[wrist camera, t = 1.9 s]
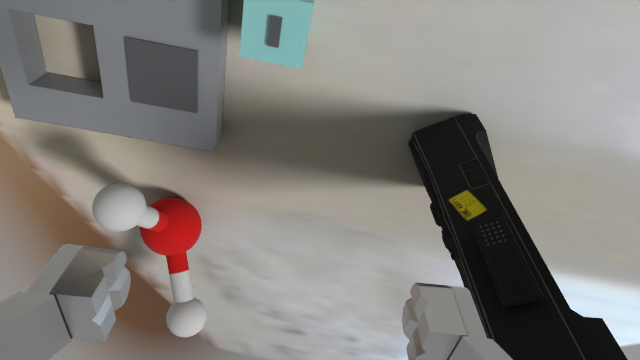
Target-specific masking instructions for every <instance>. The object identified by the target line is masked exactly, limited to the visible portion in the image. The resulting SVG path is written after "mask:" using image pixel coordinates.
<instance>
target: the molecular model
mask: <svg viewBox="0 0 640 360" xmlns="http://www.w3.org/2000/svg"><path fill="white" fill-rule="evenodd" d="M92 211H93V215H94V217H95V219H96V221H97V222H98V223H99V224H100V225H101V226H102V227H104V228H106V229H108V230H111V231H126V230H129V229H131V228H133V227H135V226H136V225H137V226H140V232H141V236H142V239H143V241H144V243H145V244H146V245H147V246H148V247H149V248H150V249H151V250H152V251H154V252H156V253H158V254H161V255H166V258H167V263H168V269H169V275H170V281H171V287H172V293H173V299H174V303H173V304H172V306H171V307H170V308H169V311H168V313H167V325H168V328H169V329H170V331H171V332H172V333H173V334H175V335H177V336H180V337H189V336H192V335H195V334H196V333H198V332H199V331H200V330H201V329H202V327H203V326H204V324H205V322H206V316H207V313H206V309H205V306H204V305H203V303H202V302H201V301H199V300H198V299H196V298H194V296H193V290H192V284H191V278H190V272H189V267H188V261H187V255H186V251H187V250H189V249H190V248H191V247H192V246H193V245H194V244H195V243H196V242H197V240H198V238H199V236H200V233H201V218H200V215H199V213H198V212H197V210H196V209H195V208H194V207H193V206H192V205H191V204H190V203H188V202H187V201H185V200H182V199H178V198H166V199H162V200H159V201H157V202H155V203H154V204H152V205H151V206H147V205H146V200H145V198H144V196H143V194H142V193H141V192H140V191H139V190H138V189H137V188H136V187H134V186H132V185H129V184H125V183H115V184H111V185H108V186H106V187H104V188H103V189H102V190H100V191H99V192H98V194H97V195H96V197H95V199H94V201H93V206H92Z"/></svg>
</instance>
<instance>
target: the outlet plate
mask: <svg viewBox="0 0 640 360" xmlns="http://www.w3.org/2000/svg"><path fill="white" fill-rule="evenodd" d="M228 8H229V0H0V68H1V71H2V75H3V78H4V81H5V85H6V88H7V91H8V94H9V98H10V101H11V104H12V108H13V111H14V114H15V118H21V119H27V120H32V121H38V122H44V123H50V124H56V125H61V126H67V127H73V128H79V129H84V130H90V131H96V132H102V133H108V134H113V135H119V136H125V137H131V138H137V139H142V140H148V141H154V142H160V143H166V144H171V145H177V146H183V147H189V148H194V149H200V150H206V151H212V152H215V151H216V149H217V147H218V144H219V142H220V140H221V137H222V122H223V103H224V84H225V65H226V46H227V27H228ZM33 14H37V15H42V16H47V17H52V18H57V19H62V20H67V21H72V22H77V23H83V24H88V25H93V28H94V35H95V42H96V49H97V56H98V62H99V69H100V76H101V82H96V81H91V80H86V79H80V78H75V77H69V76H64V75H58V74H53V73H48V72H47V71H46V67H45V63H44V58H43V54H42V50H41V45H40V41H39V37H38V32H37V28H36V24H35V19H34V15H33Z"/></svg>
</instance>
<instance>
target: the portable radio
mask: <svg viewBox="0 0 640 360" xmlns="http://www.w3.org/2000/svg"><path fill="white" fill-rule="evenodd" d="M408 145H409V148H410V150H411V153H412V155H413V158H414V161H415V163H416V166H417V169H418V171H419V173H420V176H421V178H422V181H423V183H424V186H425V188H426V190H427V193H428V195H429V197H430V199H431V201H432V203H431V205H430V208H431V211H432V214H433V217H434V220H435V222H436V224H437V225H438V226H441V228H442V239H443V242H444V244H445V247H446V248H447V249H448V250H449V252H450V253H451V254H450V255H451V258H452V259H453V260H455V263H456V265H457V268H458V270H459V272H460V275H461V278H462V281H463V284H464V287H465V288H467V289H468V290H469V291H470V293H471V296H472V299H473V301H474V304H475V307H476V309H477V312H478V315H479V318H480V320H481V323H482V326H483V328H484V331H485V334H486V337H487V339H493V340H494V341H495V342H496V343H497V344H498V345H499V346H500V347H501V348H502V349H503V350H504V351H505V352H506V353H507V354H508V355H509V356H510V357H511V358H512V359H513V360H627V358H626V356H625V355H624V353H623V352H622V350H621V348H620V347H619V345H618V343H617V342H616V340H615V339H614V337H613V335H612V334H611V332H610V330H609V329H608V327H607V326H606V324H605V322H604V321H603V319H602V318H589V317H583V316H581V315H579V314H578V313H576V312H575V311H573V310H571V309H570V307H569V305H568V304H567V302H566V300H565V298H564V296H563V295H562V293H561V291H560V289H559V287H558V286H557V284H556V282H555V280H554V278H553V277H552V275H551V273H550V271H549V269H548V268H547V266H546V264H545V262H544V260H543V259H542V257H541V255H540V253H539V251H538V250H537V248H536V246H535V244H534V242H533V241H532V239H531V237H530V235H529V233H528V232H527V230H526V228H525V226H524V224H523V223H522V221H521V219H520V217H519V215H518V214H517V212H516V210H515V208H514V206H513V205H512V203H511V201H510V199H509V198H508V196H507V194H506V192H505V190H504V189H503V187H502V185H501V183H500V181H499V180H498V176H497V172H496V168H495V164H494V160H493V156H492V153H491V149H490V145H489V141H488V137H487V133H486V130H485V128H484V127H483V125H482V123H481V122H480V120H479V118H478V117H477V115H476V114H467V115H461V116H457V117H454V118H451V119H448V120H445V121H443V122H440V123H437V124H435V125H432V126H430V127H427V128H424V129H422V130H419V131H416V132H414V133H413V134H412V139H411V140H410V141H409V143H408Z"/></svg>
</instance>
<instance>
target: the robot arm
mask: <svg viewBox="0 0 640 360" xmlns="http://www.w3.org/2000/svg"><path fill="white" fill-rule="evenodd" d="M126 261H127V258H126V255H125V252H123V251H117V250H108V249H101V248H94V247H87V246H77V245H69V244H65V245H64V246H62V247H61V248H59V250H58V251H57V252H56V254H55V255H54V256H53V257H52V259H51V260H50V261H49V262H48V264H47V265H46V266H45V268H44V269H43V270H42V272H41V273H40V274H39V276H38V277H37V278H36V279H35V281H34V282H33V283H32V284H31V286H30V287H29V288H28V290H27V291H26V292H18V293H16V294H14V295H12V296H11V297H9V298H7V299H5V300H3V301H1V302H0V360H48V359H50V358H51V357H52V356H53V355H54V354H56V353H57V352H58V351H59V350H61V349H62V348H63V347H64V346H66V345H67V344H68V343H69V342H71V339H80V340H95V341H105V339H106V337H107V336H108V333H109V331H110V330H111V328H112V326H113V324H114V322H115V320H116V318H115V314H114V311H115V310H117V309H118V308H120V307H121V306H122V305H123V304H124V302H125V300H126V298H127V296H128V292H129V288H130V273H129V271H128V270H127V269H126V268H125V267H124V265H125V263H126ZM411 296H412V298H410V299H409V300H407V301H406V303H405V306H404V308H403V316H402V321H403V330H404V334H405V335H406V336H407V337H408V339H409V340H410V341H409V343H408V345H407V354H408V359H409V360H513V359H512V358H511V357H510V356H509V355H508V354H507V353H506V352H505V351H504V350H503V349H502V348H501V347H500V346H499V345H498V344H497V343H496V342H495V341H494V340H493V339H487V337H486V334H485V331H484V328H483V326H482V323H481V320H480V318H479V315H478V312H477V309H476V307H475V304H474V301H473V299H472V296H471V293H470V291H469V290H468V289H467V288H462V287H453V286H445V285H435V284H424V283H415V284H414V285H413V286H412V288H411Z"/></svg>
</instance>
